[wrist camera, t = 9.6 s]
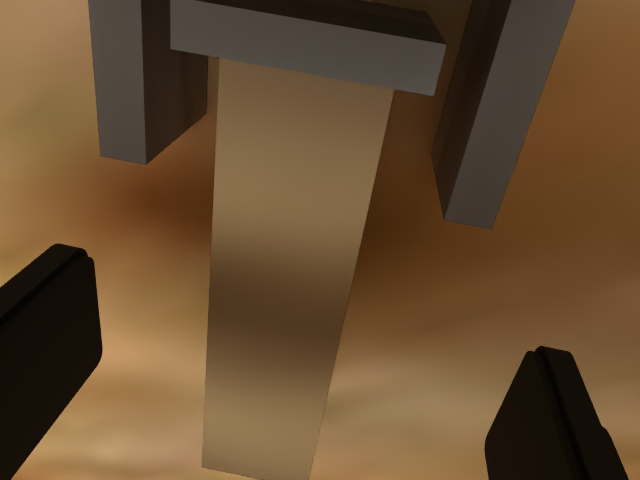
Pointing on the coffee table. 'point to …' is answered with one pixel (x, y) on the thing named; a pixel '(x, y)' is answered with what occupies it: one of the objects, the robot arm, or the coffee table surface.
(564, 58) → the coffee table surface
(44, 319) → the robot arm
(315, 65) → the bed rail
